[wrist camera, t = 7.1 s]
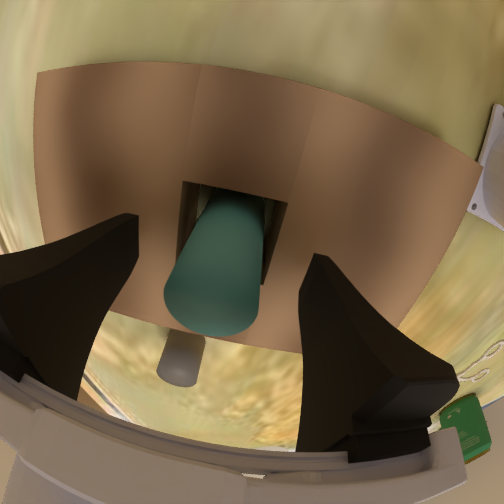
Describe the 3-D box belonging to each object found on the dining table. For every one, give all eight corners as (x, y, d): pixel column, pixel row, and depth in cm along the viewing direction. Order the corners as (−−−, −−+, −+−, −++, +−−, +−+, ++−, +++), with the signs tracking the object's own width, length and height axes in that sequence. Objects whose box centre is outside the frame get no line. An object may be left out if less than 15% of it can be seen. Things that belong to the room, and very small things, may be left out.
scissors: (493, 372, 26) (381, 419, 30) (491, 369, 26) (380, 415, 31) (515, 331, 21) (384, 389, 25) (512, 327, 21) (382, 383, 26)
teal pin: (276, 206, 15) (279, 305, 9) (240, 241, 17) (219, 347, 10) (233, 169, 14) (197, 245, 8) (198, 209, 16) (148, 302, 9)
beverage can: (443, 418, 34) (455, 469, 24) (433, 412, 32) (446, 471, 22) (478, 397, 31) (494, 448, 21) (473, 388, 28) (492, 447, 18)
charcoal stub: (207, 331, 22) (197, 371, 18) (204, 353, 23) (195, 390, 20) (169, 322, 21) (155, 360, 18) (169, 344, 23) (157, 380, 20)
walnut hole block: (443, 147, 12) (483, 167, 9) (360, 319, 20) (371, 360, 16) (81, 70, 11) (37, 72, 8) (84, 259, 19) (57, 292, 15)
